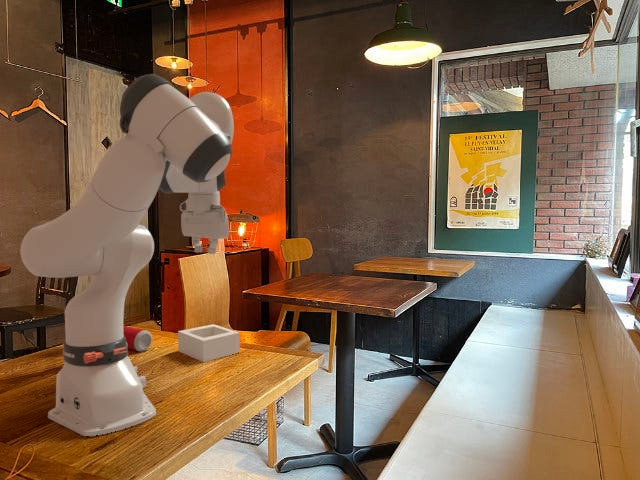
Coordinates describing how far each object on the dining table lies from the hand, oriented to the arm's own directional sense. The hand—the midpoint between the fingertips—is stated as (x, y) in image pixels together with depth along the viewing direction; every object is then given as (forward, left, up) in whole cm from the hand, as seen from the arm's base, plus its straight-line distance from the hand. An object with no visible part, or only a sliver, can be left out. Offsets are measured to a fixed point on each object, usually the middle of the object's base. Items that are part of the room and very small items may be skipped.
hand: (205, 253), depth 135 cm
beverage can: (+13, +13, -26) cm, 32 cm away
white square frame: (-1, 0, -29) cm, 29 cm away
